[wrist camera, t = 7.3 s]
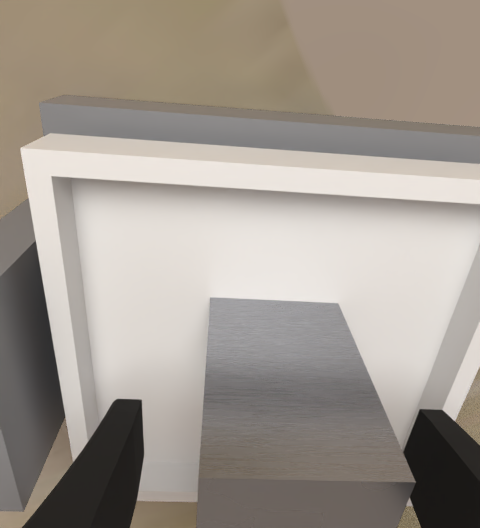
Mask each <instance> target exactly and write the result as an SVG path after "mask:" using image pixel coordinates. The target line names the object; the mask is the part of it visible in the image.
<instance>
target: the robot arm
mask: <svg viewBox="0 0 480 528" xmlns="http://www.w3.org/2000/svg"><path fill="white" fill-rule="evenodd" d="M403 454H404V456H405V458H406V461H407V463H408V465H409V468H410V470H411V472H412V474H413V477H414V479H415V481H416V483H415V486H414V488H413V491H412V493H411V495H410V500H411V503H412V505H413V508H414V510H415V513H416V515H417V518H418V520H419V523H420V525H421V528H480V445H479V444H478V443H477V442H476V441H475V440H473V439H472V438H471V437H470V436H469V435H468V434H467V433H466V432H465V431H464V430H463V429H462V428H461V427H460V426H459V425H458V424H457V423H456V422H455V421H454V420H453V419H452V418H451V417H450V416H449V415H447V414H446V413H445V412H444V411H443V410H435V409H420V410H419V412H418V415H417V417H416V420H415V423H414V425H413V428H412V430H411V433H410V436H409V438H408V441H407V443H406V446H405V448H404V451H403ZM143 459H144V438H143V416H142V400H141V399H116V400H115V401H113V403H112V404H111V406H110V408H109V410H108V411H107V413H106V415H105V416H104V418H103V420H102V421H101V423H100V424H99V426H98V427H97V429H96V430H95V432H94V434H93V435H92V436H91V438H90V439H89V441H88V442H87V444H86V445H85V447H84V448H83V450H82V451H81V452H80V454H79V455H78V457H77V458H76V459H75V461H74V462H73V464H72V465H71V466H70V468H69V469H68V470H67V472H66V473H65V475H64V476H63V477H62V479H61V480H60V481H59V483H58V484H57V485H56V486H55V488H54V489H53V490H52V491H51V493H50V494H49V495H48V496H47V498H46V499H45V500H44V501H43V503H42V504H41V505H40V506H39V508H38V509H37V510H36V512H35V513H34V514H33V515H32V516H31V518H30V519H29V520H28V521H27V522H26V524H25V525H24V526H23V527H22V528H130V524H131V520H132V516H133V513H134V509H135V505H136V501H137V497H138V491H139V485H140V479H141V472H142V466H143Z"/></svg>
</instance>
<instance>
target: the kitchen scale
mask: <svg viewBox="0 0 480 528" xmlns="http://www.w3.org/2000/svg"><path fill="white" fill-rule="evenodd" d="M39 106H40V113H41V121H42V128H43V135H44V137H42V138H40V139H38V140H36V141H34V142H32V143H30V144H28V145H26V146H24V147H22V148H20V150H21V156H22V161H23V167H24V173H25V179H26V185H27V191H28V197H29V198H28V199H26V200H25V201H24V202H22V203H21V204H20V205H19V206H17V207H16V208H15V209H13V210H12V211H11V212H9V213H8V214H7V215H6V216H4V217H3V218H2V219H0V511H22V512H24V510H25V507H26V505H27V503H28V500H29V498H30V496H31V494H32V491H33V489H34V487H35V484H36V482H37V480H38V478H39V475H40V473H41V471H42V468H43V466H44V464H45V461H46V459H47V457H48V455H49V452H50V450H51V448H52V445H53V443H54V441H55V439H56V436H57V434H58V432H59V429H60V427H61V425H62V423H63V420H64V418H65V417H66V423H67V429H68V435H69V441H70V446H71V452H72V458H73V462H74V461H75V459H76V458H77V457H78V455H79V454H80V452H81V451H82V450H83V448H84V447H85V445H86V444H87V442H88V441H89V439H90V438H91V436H92V435H93V434H94V432H95V430H96V429H97V427H98V426H99V424H100V423H101V421H102V420H103V418H104V416H105V415H106V413H107V411H108V410H109V408H110V406H111V404H112V403H113V401H115V400H116V399H141V400H142V416H143V438H144V459H143V466H142V472H141V479H140V485H139V491H138V497H137V501H165V502H197V500H198V476H199V461H200V446H201V430H202V415H203V400H204V385H205V369H206V354H207V339H208V324H209V309H210V297H216V298H237V299H259V300H281V301H302V302H324V303H338V304H339V306H340V308H341V311H342V313H343V315H344V318H345V320H346V322H347V325H348V327H349V329H350V331H351V334H352V336H353V338H354V341H355V343H356V345H357V348H358V350H359V352H360V355H361V357H362V359H363V361H364V364H365V366H366V368H367V371H368V373H369V375H370V378H371V380H372V382H373V385H374V387H375V389H376V391H377V394H378V396H379V398H380V401H381V403H382V405H383V408H384V410H385V412H386V414H387V417H388V419H389V421H390V424H391V426H392V428H393V431H394V433H395V435H396V438H397V440H398V442H399V444H400V447H401V449H402V451H404V448H405V446H406V443H407V441H408V438H409V436H410V433H411V430H412V428H413V425H414V423H415V420H416V417H417V415H418V412H419V410H420V409H435V410H443V411H444V412H445V413H446V414H447V415H449V416H450V417H451V418H452V419H453V420H454V421H455V420H456V418H457V415H458V413H459V411H460V409H461V407H462V404H463V402H464V400H465V398H466V395H467V393H468V391H469V389H470V387H471V384H472V382H473V380H474V378H475V376H476V373H477V371H478V369H479V367H480V127H470V126H457V125H445V124H432V123H419V122H406V121H393V120H379V119H367V118H354V117H342V116H329V115H316V114H303V113H290V112H277V111H264V110H252V109H239V108H226V107H213V106H200V105H187V104H174V103H161V102H148V101H135V100H123V99H110V98H97V97H84V96H71V95H62V96H59V97H56V98H52V99H49V100H46V101H42V102H39ZM406 506H413V505H412V503H411V500H410V498H409V500H408V502H407V505H406Z"/></svg>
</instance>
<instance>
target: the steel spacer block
mask: <svg viewBox="0 0 480 528" xmlns="http://www.w3.org/2000/svg"><path fill="white" fill-rule="evenodd" d="M415 483H416V481H415V479H414V477H413V474H412V472H411V470H410V468H409V465H408V463H407V461H406V458H405V456H404V454H403V451H402V449H401V447H400V444H399V442H398V440H397V438H396V435H395V433H394V431H393V428H392V426H391V424H390V421H389V419H388V417H387V414H386V412H385V410H384V408H383V405H382V403H381V401H380V398H379V396H378V394H377V391H376V389H375V387H374V385H373V382H372V380H371V378H370V375H369V373H368V371H367V368H366V366H365V364H364V361H363V359H362V357H361V355H360V352H359V350H358V348H357V345H356V343H355V341H354V338H353V336H352V334H351V331H350V329H349V327H348V325H347V322H346V320H345V318H344V315H343V313H342V311H341V308H340V306H339V304H338V303H324V302H302V301H281V300H259V299H237V298H216V297H210V309H209V324H208V339H207V354H206V369H205V385H204V400H203V415H202V430H201V446H200V461H199V476H198V500H197V524H196V528H397V526H398V523H399V521H400V519H401V516H402V514H403V512H404V509H405V507H406V505H407V502H408V500H409V498H410V495H411V493H412V491H413V488H414V486H415Z"/></svg>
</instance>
